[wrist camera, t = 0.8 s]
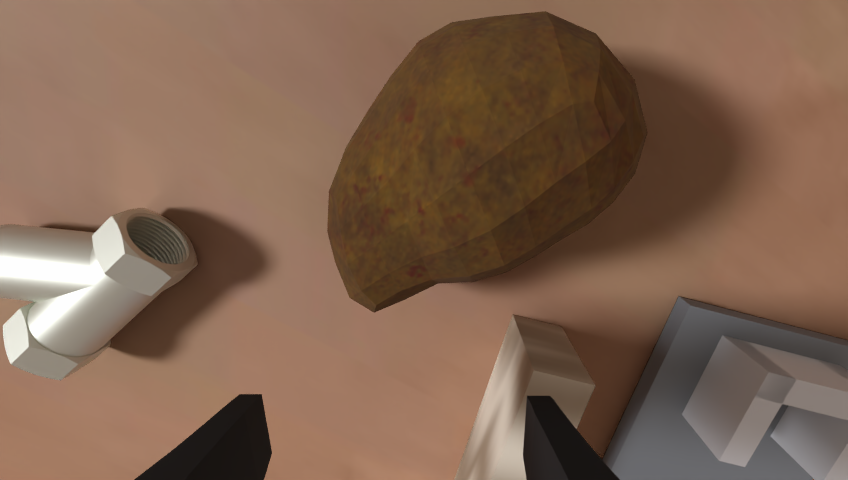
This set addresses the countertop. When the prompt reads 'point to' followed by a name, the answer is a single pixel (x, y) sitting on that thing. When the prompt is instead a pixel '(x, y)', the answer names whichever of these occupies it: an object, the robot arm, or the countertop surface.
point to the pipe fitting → (84, 285)
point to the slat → (523, 397)
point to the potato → (481, 155)
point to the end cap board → (735, 402)
